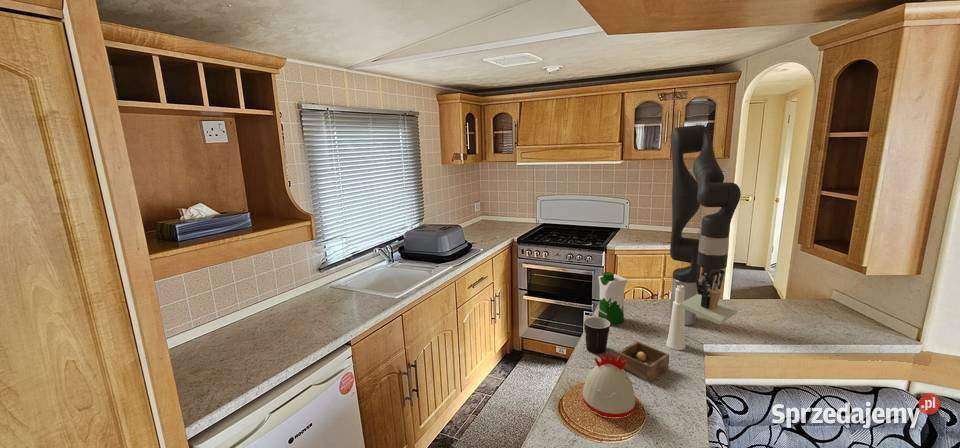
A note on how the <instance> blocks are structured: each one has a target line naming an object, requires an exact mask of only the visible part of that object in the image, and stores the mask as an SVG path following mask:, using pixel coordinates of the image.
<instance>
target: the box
mask: <svg viewBox="0 0 960 448" xmlns="http://www.w3.org/2000/svg"><path fill="white" fill-rule="evenodd" d="M638 352H643V353H645V355H646V360H645V361H639V360H638V359H637V358H636V354H637V353H638ZM620 354H621V362H624V361H625V360H626V359H627V362H626V364H625V366H624V367H623V368H622V369H623V370H624V371H625V372H626V373H627V374H628V373H629V374H630V375H633V376H634V377H636V378H639V379H641V380H643V381H645V382H647V383H648V384H649V383H651V382H652V381H654V380H655V379H656V378H658V377H659V376H661V375H662V374H664V373H665V372H666V371H668V370H669V363H670V354H668V353H666V352H664V351H662V350H659V349H658V348H654V347H652V346H650V345H647V344H645V343H642V342H640V341H637V340H636V341H635V342H633V343H631V344H630V345H627V346H626V347H624V348H622V349H621V350H619V351H617V352H616V355H617V356H616V361H617V360H618V358H619V356H620ZM645 363H647V364H649V365H647V364H645Z"/></svg>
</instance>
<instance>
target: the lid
mask: <svg viewBox="0 0 960 448" xmlns="http://www.w3.org/2000/svg"><path fill="white" fill-rule="evenodd" d="M721 293H722V292H721V291H719V290H718V291H716V290H713V289H712V290H711V296H710V306H709V308H704V307H702V306H701V297H702V295H699V294H697V295H695V296H693V297H691V298H689V299H687V300H685V301H683V302H682V303H680V306H679V307H681V308H683V309H686V310H688V311H690V312H692V313H695V314H696V316H699V317H702V318H703V319H706V320H708V321H711V322H713V323H715V324H717V325H722V324H723V323H725V322H726V321H727V320H729V319H730V318H731V317H734V316H735V315H736V314H738V308H735V307H733V306H731V305H727V304H725V303H723V302H720V301H719V300H720V297H721Z"/></svg>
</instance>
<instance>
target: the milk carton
mask: <svg viewBox="0 0 960 448" xmlns="http://www.w3.org/2000/svg"><path fill="white" fill-rule="evenodd" d="M627 281H628V279H627V278H625V277H622V276H619V275H618V274H615V273H614V272H611V271H605V272H603V273H602V275H598V285H599V303H598V305H599V306H598V314H597V315H598V316H597V317H600V318H604V319H606V320H608V321H609V322H610V326H614V325H618V324H621V323H625V315H624V308H625V307H624V305H625V288H626V286H627V285H626V284H627Z"/></svg>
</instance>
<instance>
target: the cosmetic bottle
mask: <svg viewBox="0 0 960 448" xmlns="http://www.w3.org/2000/svg"><path fill="white" fill-rule="evenodd" d="M684 294H685V289H684V286H682V285H677V288H676V291H675V301H674V302H673V307H672V315H671V320H670V324H669V330H668V336H667V338H666V339H667V340H666V342H665V345H666V346H667V347H668V348H669V349H671V350H675V351H683V350H686V348H687V346H686V337H685V336H686V334H685V326H686V325H685V309H683V308H681V307H679V306H680V303H682V302H683V301H684Z"/></svg>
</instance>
